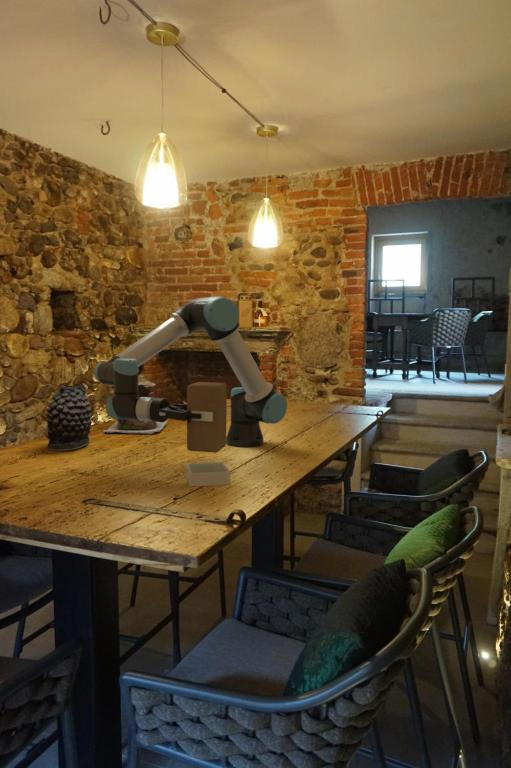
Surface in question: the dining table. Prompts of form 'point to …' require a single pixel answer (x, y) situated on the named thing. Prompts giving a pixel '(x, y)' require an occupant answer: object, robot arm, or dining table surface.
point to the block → (206, 432)
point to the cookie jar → (134, 425)
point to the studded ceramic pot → (69, 418)
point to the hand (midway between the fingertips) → (219, 413)
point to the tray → (207, 474)
